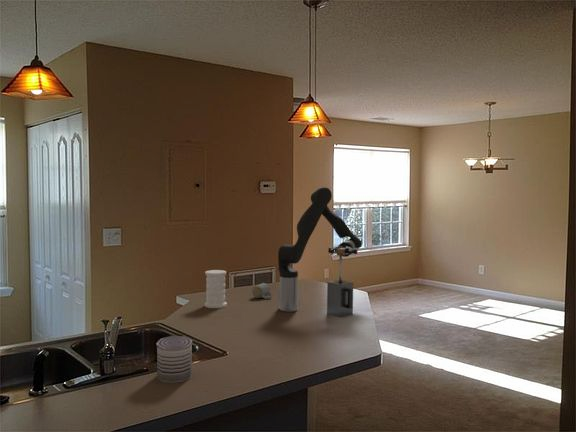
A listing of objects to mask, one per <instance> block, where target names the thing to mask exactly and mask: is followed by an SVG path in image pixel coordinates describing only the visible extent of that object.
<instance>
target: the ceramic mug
mask: <svg viewBox="0 0 576 432" xmlns="http://www.w3.org/2000/svg"><path fill="white" fill-rule="evenodd" d="M251 293H252V295H253V297H254V298H255V299H261V298H263V299H265V300H270V299H271V298H272V294H271V288H270V286H269V284H268V283H265V282H262V283H259V284H256V285H255V286H254V287H253V288H252V290H251Z"/></svg>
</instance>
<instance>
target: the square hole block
mask: <svg viewBox="0 0 576 432" xmlns="http://www.w3.org/2000/svg"><path fill="white" fill-rule="evenodd" d="M326 285H327V290H326V293H327V294H326V295H327V296H326V314H328V315H330V316H334V317H337V318H342V317H343V318H344V317H349V316H353V315H354V314H353V313H354V282H352V281H348V280H343V279H342V283H339V279H337V280H331V281H327V283H326Z"/></svg>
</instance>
